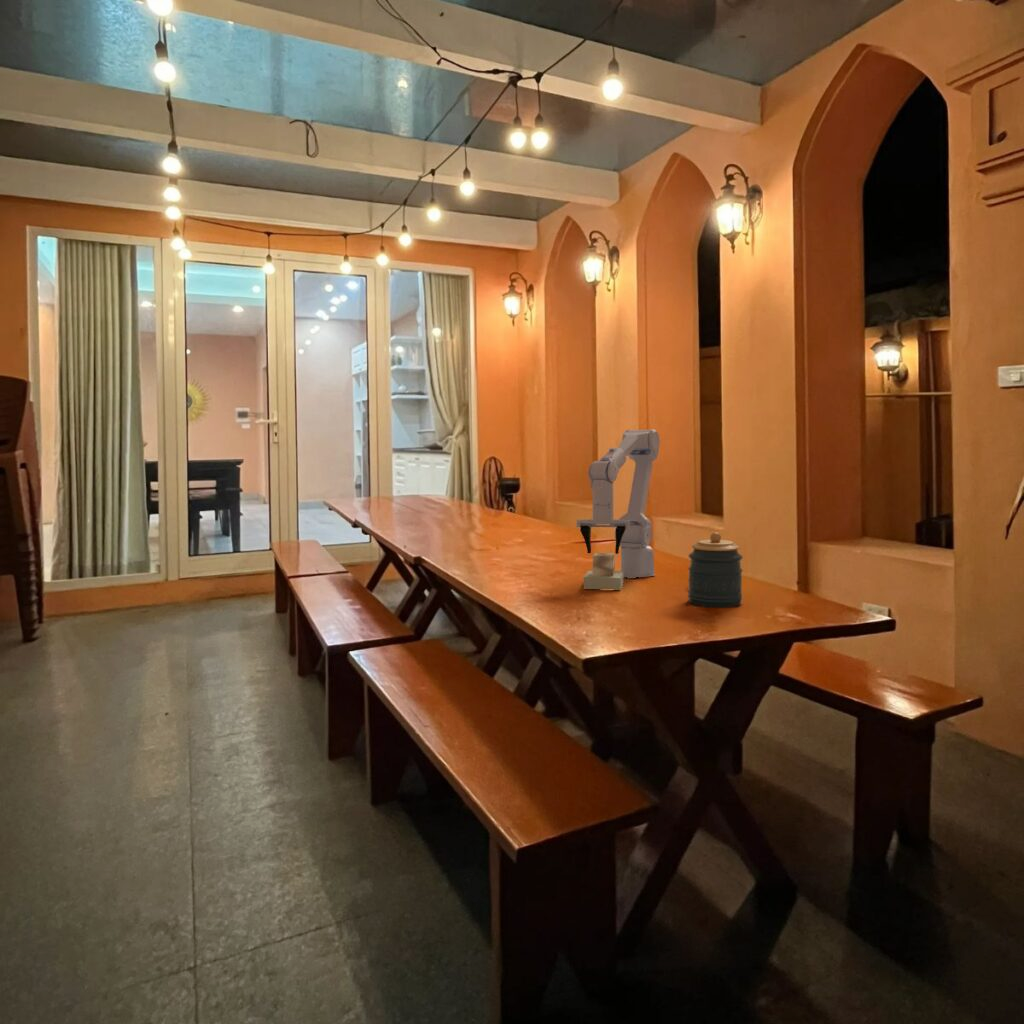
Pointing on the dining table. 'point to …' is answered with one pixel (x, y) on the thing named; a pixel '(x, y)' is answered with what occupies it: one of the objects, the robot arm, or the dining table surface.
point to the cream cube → (603, 564)
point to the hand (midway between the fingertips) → (603, 553)
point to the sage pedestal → (604, 581)
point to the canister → (715, 573)
